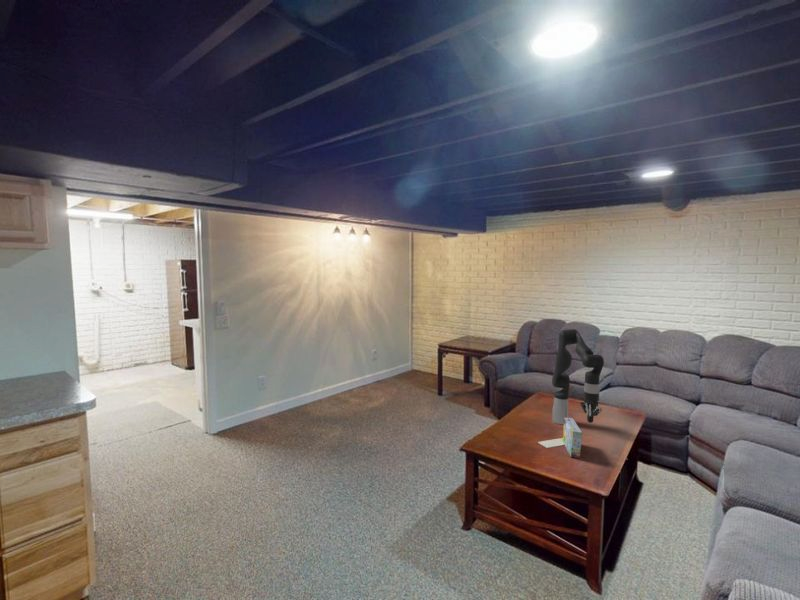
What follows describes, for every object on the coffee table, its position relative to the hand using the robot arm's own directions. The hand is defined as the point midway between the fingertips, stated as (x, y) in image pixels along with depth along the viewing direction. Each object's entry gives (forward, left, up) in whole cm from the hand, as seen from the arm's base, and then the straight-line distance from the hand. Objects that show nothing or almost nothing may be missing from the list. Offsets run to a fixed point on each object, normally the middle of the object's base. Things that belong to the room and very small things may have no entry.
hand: (590, 422), depth 217 cm
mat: (-23, 0, -21) cm, 31 cm away
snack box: (-13, 0, -21) cm, 25 cm away
